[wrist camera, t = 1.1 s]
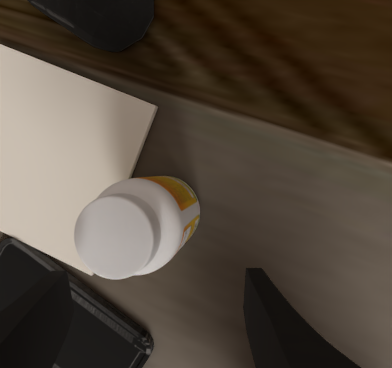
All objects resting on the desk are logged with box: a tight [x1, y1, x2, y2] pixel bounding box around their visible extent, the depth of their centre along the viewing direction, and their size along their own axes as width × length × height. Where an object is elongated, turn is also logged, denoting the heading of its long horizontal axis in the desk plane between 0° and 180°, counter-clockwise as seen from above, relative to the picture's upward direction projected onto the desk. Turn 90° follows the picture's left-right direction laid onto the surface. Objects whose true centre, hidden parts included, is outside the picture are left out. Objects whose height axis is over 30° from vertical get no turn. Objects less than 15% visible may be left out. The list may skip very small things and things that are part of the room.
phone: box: [0, 237, 154, 368], centre depth 26 cm, size 8×1×15 cm
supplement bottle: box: [74, 176, 200, 279], centre depth 20 cm, size 5×5×10 cm
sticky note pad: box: [0, 44, 158, 276], centre depth 26 cm, size 14×14×1 cm
